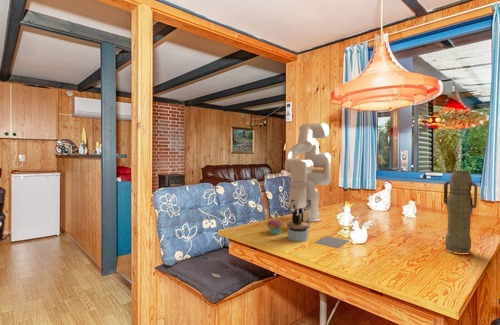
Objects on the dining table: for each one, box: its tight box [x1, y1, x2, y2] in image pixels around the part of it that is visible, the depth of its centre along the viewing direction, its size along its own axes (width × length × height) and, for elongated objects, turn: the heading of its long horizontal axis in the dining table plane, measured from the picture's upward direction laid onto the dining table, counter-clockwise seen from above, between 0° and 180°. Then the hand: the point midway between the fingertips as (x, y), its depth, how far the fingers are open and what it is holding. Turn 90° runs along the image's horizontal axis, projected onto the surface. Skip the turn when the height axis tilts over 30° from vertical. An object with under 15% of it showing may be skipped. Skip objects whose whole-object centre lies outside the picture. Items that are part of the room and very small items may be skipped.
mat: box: [313, 235, 350, 249], centre depth 136 cm, size 14×12×1 cm
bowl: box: [287, 227, 309, 242], centre depth 141 cm, size 10×10×5 cm
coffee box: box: [291, 199, 311, 230], centre depth 160 cm, size 9×6×16 cm
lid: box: [286, 213, 310, 229], centre depth 141 cm, size 11×11×6 cm
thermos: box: [443, 170, 478, 253], centre depth 125 cm, size 9×12×35 cm
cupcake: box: [266, 212, 284, 235], centre depth 150 cm, size 9×8×12 cm
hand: (297, 222), depth 141 cm, fingers closed on lid, 3 cm apart
